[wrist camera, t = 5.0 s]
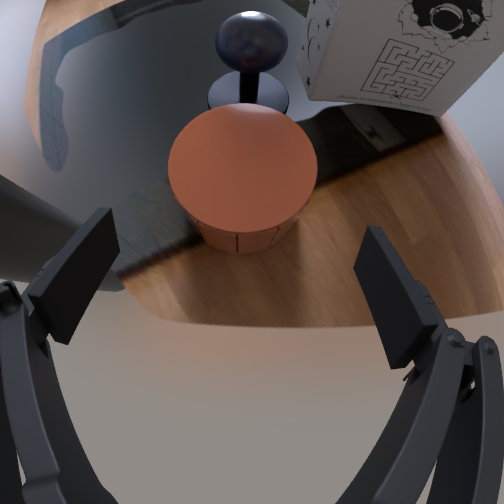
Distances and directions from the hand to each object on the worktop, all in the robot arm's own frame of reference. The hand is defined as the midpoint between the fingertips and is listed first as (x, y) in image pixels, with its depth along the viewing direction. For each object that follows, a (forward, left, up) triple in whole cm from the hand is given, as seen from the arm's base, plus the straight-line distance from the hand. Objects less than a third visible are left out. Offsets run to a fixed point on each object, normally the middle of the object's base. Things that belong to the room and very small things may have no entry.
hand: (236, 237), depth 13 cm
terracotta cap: (+1, +6, -11) cm, 12 cm away
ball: (+4, +18, -5) cm, 19 cm away
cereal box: (+22, +20, -11) cm, 32 cm away
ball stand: (+4, +18, -11) cm, 21 cm away
